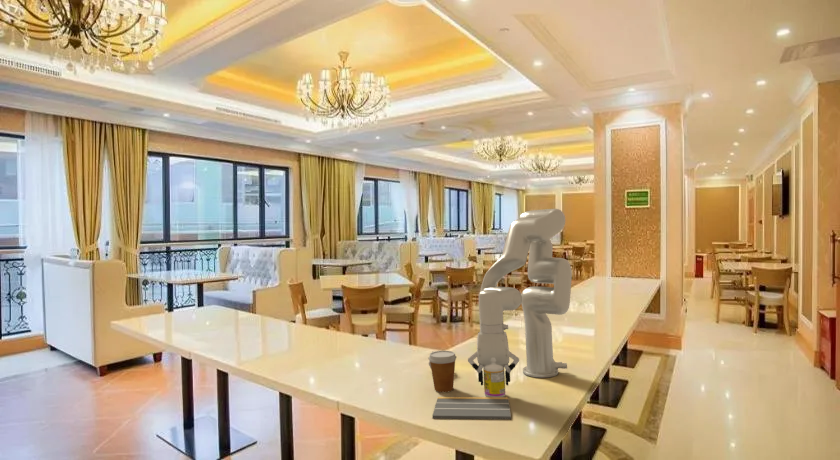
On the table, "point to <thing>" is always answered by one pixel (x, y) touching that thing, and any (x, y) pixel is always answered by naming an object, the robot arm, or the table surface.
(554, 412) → the table surface
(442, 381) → the disposable coffee cup
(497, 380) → the supplement bottle
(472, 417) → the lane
